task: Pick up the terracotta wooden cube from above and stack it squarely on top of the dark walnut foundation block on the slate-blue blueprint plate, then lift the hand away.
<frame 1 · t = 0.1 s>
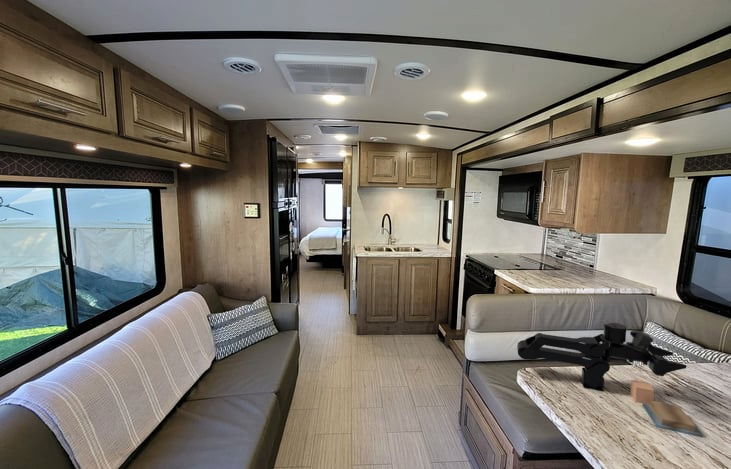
hand: (679, 360, 106), 16 cm above the table, tool horizontal, fingers open, 9 cm apart
terracotta cube: (641, 399, 110), on the table
foundation block: (670, 420, 99), on the table
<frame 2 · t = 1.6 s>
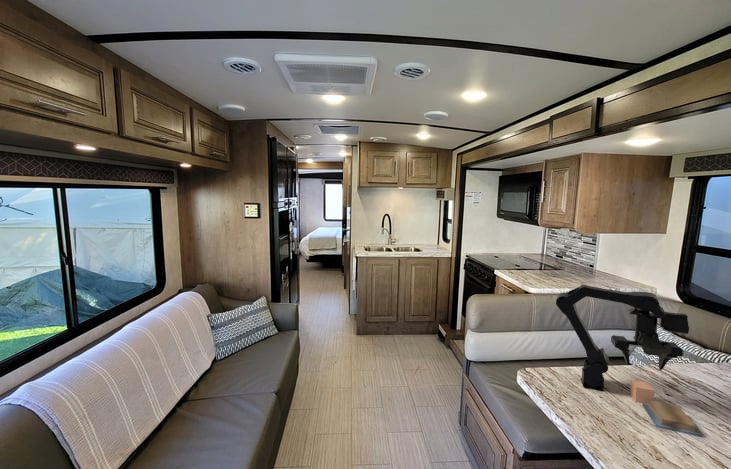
hand: (643, 367, 108), 13 cm above the table, tool pointing down, fingers open, 9 cm apart
nothing on the table moved.
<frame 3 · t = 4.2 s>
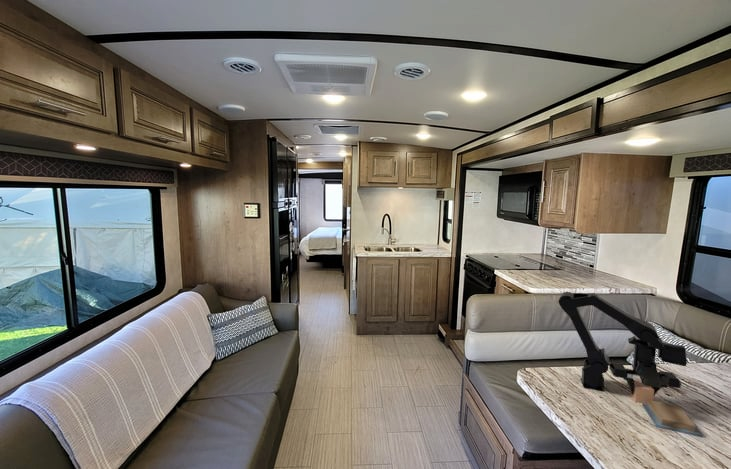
hand: (641, 395, 110), 2 cm above the table, tool pointing down, fingers closed on terracotta cube, 5 cm apart
terracotta cube: (641, 399, 110), on the table, touching gripper
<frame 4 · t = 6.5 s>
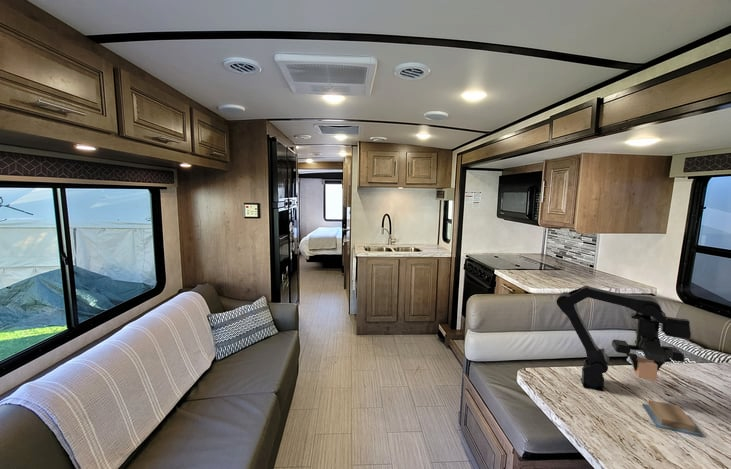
hand: (644, 371, 108), 12 cm above the table, tool pointing down, fingers closed on terracotta cube, 5 cm apart
terracotta cube: (644, 375, 108), point 10 cm above the table, touching gripper
when the fingers open (6 cm above the table, at t = 9.1 s): terracotta cube drops 1 cm, resting on foundation block.
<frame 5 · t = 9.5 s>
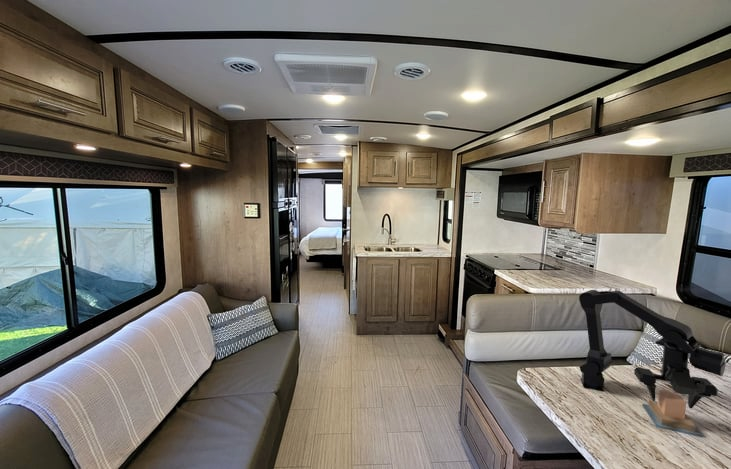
hand: (671, 403, 99), 6 cm above the table, tool pointing down, fingers open, 9 cm apart
terracotta cube: (670, 412, 99), point 3 cm above the table, touching foundation block
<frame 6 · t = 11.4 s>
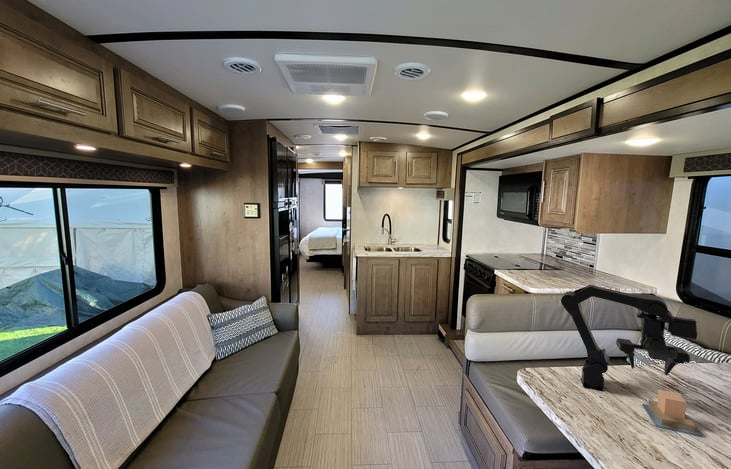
hand: (648, 371, 107), 12 cm above the table, tool pointing down, fingers open, 9 cm apart
nothing on the table moved.
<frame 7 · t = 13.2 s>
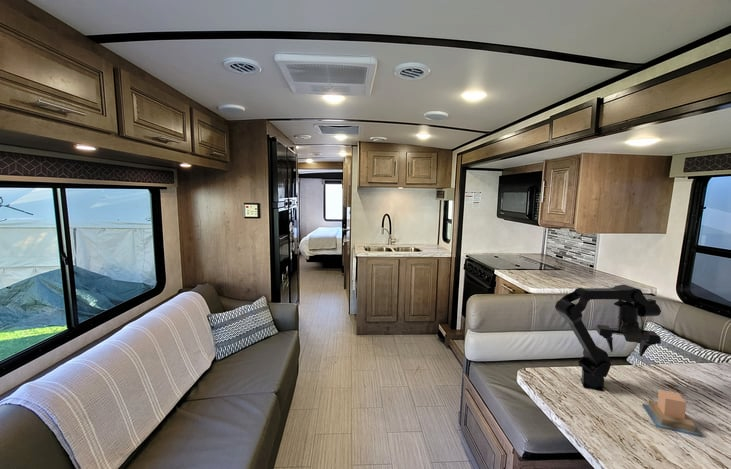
hand: (625, 353, 118), 13 cm above the table, tool pointing down, fingers open, 9 cm apart
nothing on the table moved.
at the end: terracotta cube 0.0 cm off-centre on the foundation block, point 3.0 cm above the foundation block's base; terracotta cube tilted 0°; the gripper is holding nothing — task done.
